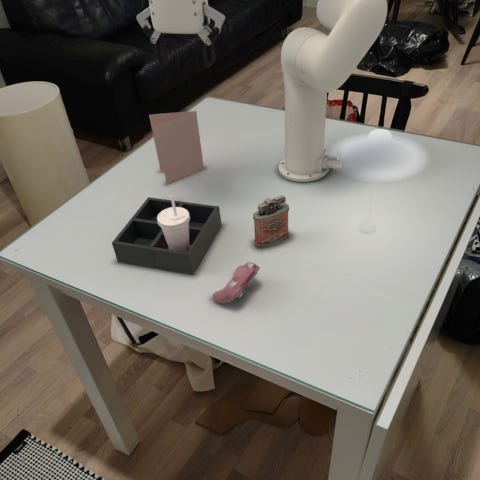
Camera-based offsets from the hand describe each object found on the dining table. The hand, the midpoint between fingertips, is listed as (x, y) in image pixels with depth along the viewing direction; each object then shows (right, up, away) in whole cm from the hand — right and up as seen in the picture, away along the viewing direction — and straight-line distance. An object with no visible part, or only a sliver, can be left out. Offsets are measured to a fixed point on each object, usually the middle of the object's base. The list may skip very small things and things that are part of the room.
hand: (186, 64), depth 94 cm
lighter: (+17, -33, +9) cm, 38 cm away
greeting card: (-5, -13, +30) cm, 33 cm away
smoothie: (-2, -36, +7) cm, 37 cm away
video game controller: (+10, -45, -1) cm, 46 cm away
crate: (-5, -33, +11) cm, 35 cm away
